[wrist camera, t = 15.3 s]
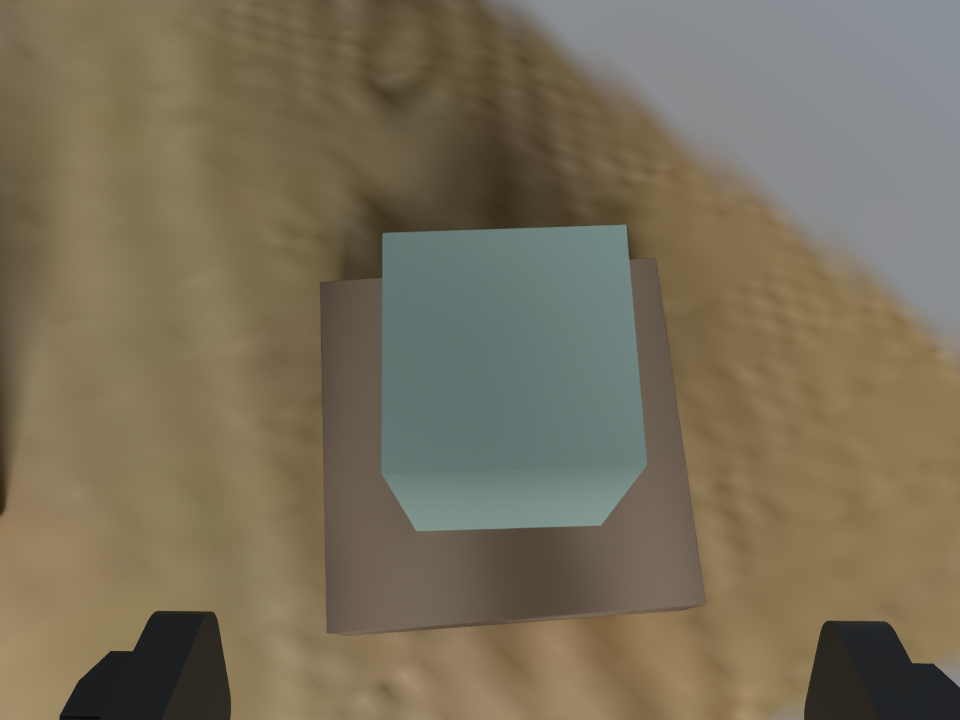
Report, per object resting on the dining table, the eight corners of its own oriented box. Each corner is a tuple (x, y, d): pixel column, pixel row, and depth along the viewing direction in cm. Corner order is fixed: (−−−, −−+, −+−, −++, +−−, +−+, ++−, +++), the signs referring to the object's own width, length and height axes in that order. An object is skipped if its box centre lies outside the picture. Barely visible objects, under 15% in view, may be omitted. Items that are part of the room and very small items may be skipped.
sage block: (416, 531, 25) (381, 473, 17) (415, 356, 26) (382, 232, 19) (600, 525, 25) (647, 464, 17) (588, 350, 26) (626, 224, 19)
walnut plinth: (344, 635, 27) (326, 632, 24) (337, 318, 30) (320, 282, 27) (683, 610, 27) (706, 603, 24) (640, 296, 30) (655, 257, 27)
